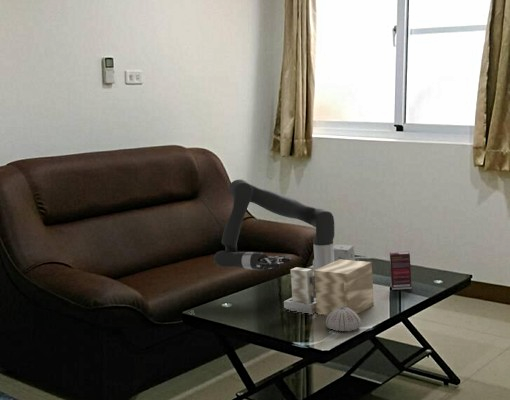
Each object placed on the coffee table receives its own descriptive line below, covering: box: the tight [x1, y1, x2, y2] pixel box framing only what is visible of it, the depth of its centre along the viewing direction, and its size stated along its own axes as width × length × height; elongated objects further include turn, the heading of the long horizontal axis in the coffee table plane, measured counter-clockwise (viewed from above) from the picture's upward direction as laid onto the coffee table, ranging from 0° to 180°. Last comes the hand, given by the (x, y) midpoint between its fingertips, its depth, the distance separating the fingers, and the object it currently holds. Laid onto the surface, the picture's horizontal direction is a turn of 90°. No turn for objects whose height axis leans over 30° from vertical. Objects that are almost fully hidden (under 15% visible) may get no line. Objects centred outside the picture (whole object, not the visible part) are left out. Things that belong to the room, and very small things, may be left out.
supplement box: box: [389, 251, 413, 291], centre depth 347 cm, size 9×5×16 cm, turn 84°
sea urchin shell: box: [325, 307, 362, 332], centre depth 299 cm, size 13×14×8 cm
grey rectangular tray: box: [283, 297, 317, 315], centre depth 327 cm, size 13×9×4 cm
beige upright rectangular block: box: [290, 266, 314, 304], centre depth 326 cm, size 9×4×16 cm, turn 53°
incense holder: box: [333, 244, 356, 262], centre depth 394 cm, size 10×8×10 cm
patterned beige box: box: [312, 259, 375, 316], centre depth 323 cm, size 17×20×18 cm
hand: (285, 263), depth 336 cm, fingers open, 8 cm apart
